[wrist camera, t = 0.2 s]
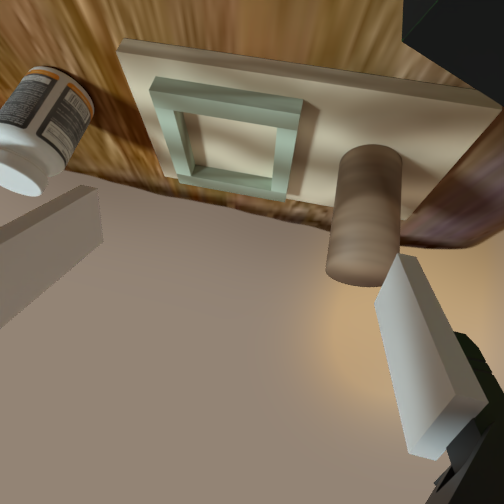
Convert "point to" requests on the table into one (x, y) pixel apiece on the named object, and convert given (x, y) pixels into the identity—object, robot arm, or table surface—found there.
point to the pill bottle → (41, 129)
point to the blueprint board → (306, 139)
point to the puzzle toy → (460, 39)
